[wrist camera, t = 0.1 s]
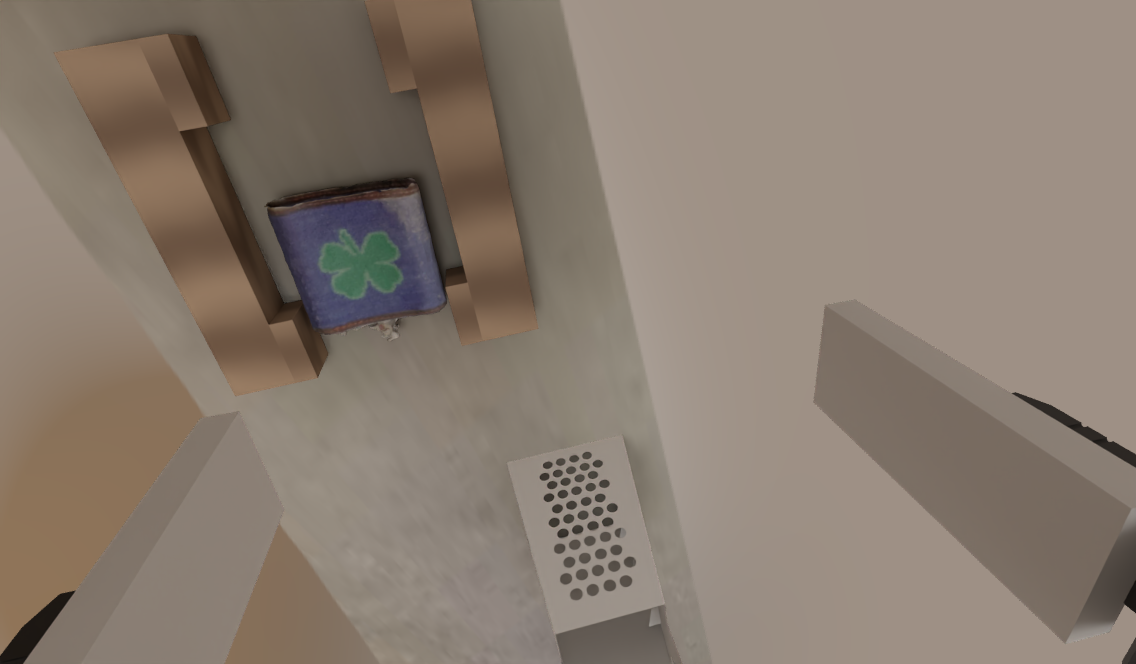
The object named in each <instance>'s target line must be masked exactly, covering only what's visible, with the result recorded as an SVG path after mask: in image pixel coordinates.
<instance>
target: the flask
mask: <svg viewBox="0 0 1136 664" xmlns="http://www.w3.org/2000/svg"><path fill="white" fill-rule="evenodd" d="M264 207H267V210H268V216H269V219H270V221H271V225H272V227H273V229H274V231H275V234H276V236H277V239H278V242H279V244H280V246H281V248H282V251H283V253H284V256H285V260H286V262H287V264H288V266H289V269H290V271H291V274H292V276H293V278H294V281H295V284H296V287H297V289H298V292H299V294H300V296H301V299H302V302H303V304H304V307H305V310H306V312H307V314H308V316H309V319H310V323H311V325H312V328H313V330H314V331H315V332H318V333H320V334H325V335H331V334H340V335H342V336H346V335H347V330H351V329H354V328H356V329H355V331H356V330H359V329H361V328H363V327H365V326H367V325H368V326H369V328H371V329H374V330H379V331H381V332H382V333H383V336H382V337H384V338H388V337H390V338H389V339H387V341H392V340H393V339H396V338H399V336H400V334H399V333H398V332H397V331H398V329H397V328H398V327H399V325H398V324H397V325H395V324H396V323H395V322H396V321H397V320H398V318H405V317H409V316H418V315H428V314H433V313H437V312H439V311H440V310H441V309H443V308H444V307H445V305H446V304H447V300H446V295H445V292H444V288H443V284H442V280H441V276H440V272H439V268H438V264H437V261H436V257H435V253H434V249H433V245H432V241H431V236H430V231H429V227H428V224H427V221H426V215H425V212H424V208H423V203H422V199H421V194H420V190H419V187H418V185H417V183H416V182H415V179H412V178H408V179H407V178H406V179H404V180H398V179H390V180H387V181H382V182H379V181H378V182H371V183H366V184H360V185H353V186H351V187H348V188H345V187H340V188H330V189H324V190H321V191H320V190H319V191H315V192H310V193H304V194H299V195H293V196H288V197H283V198H281V199H279V200H273V201H271V202H268V203H267V204H266V206H264Z"/></svg>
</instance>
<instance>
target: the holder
mask: <svg viewBox="0 0 1136 664" xmlns="http://www.w3.org/2000/svg"><path fill="white" fill-rule="evenodd" d="M364 2H365V5H366V9H367V12H368V16H369V19H370V23H371V27H372V30H373V34H374V37H375V41H376V44H377V48H378V51H379V55H380V58H381V62H382V65H383V69H384V72H385V76H386V80H387V83H388V87H389V90H390V93H394V92H400V91H405V90H411V89H416V88H417V91H418V95H419V98H420V102H421V106H422V110H423V114H424V117H425V121H426V125H427V129H428V133H429V137H430V140H431V144H432V148H433V152H434V156H435V160H436V163H437V167H438V171H439V175H440V179H441V183H442V186H443V190H444V194H445V198H446V202H447V206H448V209H449V213H450V217H451V221H452V225H453V228H454V232H455V236H456V240H457V244H458V248H459V251H460V255H461V259H462V263H463V266H461V267H457V268H452V269H447V270H446V284H445V288H446V292H447V295H448V299H449V302H450V306H451V309H452V313H453V316H454V320H455V323H456V327H457V330H458V334H459V337H460V341H461V345H462V346H463V345H468V344H472V343H477V342H481V341H485V340H490V339H494V338H499V337H503V336H508V335H512V334H517V333H521V332H526V331H530V330H535V329H538V324H537V319H536V314H535V310H534V305H533V300H532V295H531V290H530V285H529V280H528V275H527V271H526V266H525V261H524V256H523V251H522V246H521V241H520V236H519V231H518V227H517V222H516V217H515V212H514V207H513V202H512V197H511V192H510V188H509V183H508V178H507V173H506V168H505V163H504V158H503V153H502V149H501V144H500V139H499V134H498V129H497V124H496V119H495V114H494V110H493V105H492V100H491V95H490V90H489V85H488V80H487V75H486V71H485V66H484V61H483V56H482V51H481V46H480V41H479V36H478V32H477V27H476V22H475V17H474V12H473V7H472V2H471V0H368V1H364ZM54 54H55V56H56V58H57V60H58V62H59V64H60V66H61V68H62V70H63V71H64V73H65V75H66V77H67V79H68V81H69V83H70V85H71V87H72V88H73V90H74V92H75V94H76V96H77V98H78V100H79V102H80V104H81V105H82V107H83V109H84V111H85V113H86V115H87V117H88V119H89V121H90V122H91V124H92V126H93V128H94V130H95V132H96V134H97V136H98V138H99V139H100V141H101V143H102V145H103V147H104V149H105V151H106V153H107V155H108V156H109V158H110V160H111V162H112V164H113V166H114V168H115V170H116V172H117V173H118V175H119V177H120V179H121V181H122V183H123V185H124V187H125V189H126V190H127V192H128V194H129V196H130V198H131V200H132V202H133V204H134V206H135V207H136V209H137V211H138V213H139V215H140V217H141V219H142V221H143V223H144V224H145V226H146V228H147V230H148V232H149V234H150V236H151V238H152V240H153V241H154V243H155V245H156V247H157V249H158V251H159V253H160V255H161V257H162V258H163V260H164V262H165V264H166V266H167V268H168V270H169V272H170V274H171V275H172V277H173V279H174V281H175V283H176V285H177V287H178V289H179V291H180V292H181V294H182V296H183V298H184V300H185V302H186V304H187V306H188V308H189V309H190V311H191V313H192V315H193V317H194V319H195V321H196V323H197V325H198V326H199V328H200V330H201V332H202V334H203V336H204V338H205V340H206V342H207V343H208V345H209V347H210V349H211V351H212V353H213V355H214V357H215V359H216V360H217V362H218V364H219V366H220V368H221V370H222V372H223V374H224V376H225V377H226V379H227V381H228V383H229V385H230V387H231V389H232V391H233V393H234V394H235V396H239V395H243V394H248V393H252V392H257V391H261V390H266V389H270V388H275V387H279V386H284V385H288V384H293V383H297V382H302V381H306V380H311V379H315V378H318V376H319V374H320V371H321V369H322V367H323V365H324V362H325V360H326V358H327V356H328V352H327V350H326V347H325V345H324V342H323V340H322V338H321V335H320V333H318V332H315V331H314V330H313V328H312V325H311V323H310V319H309V316H308V314H307V312H306V310H305V307H304V304H303V302H302V300H300V301H295V302H290V303H285V304H284V303H283V301H282V298H281V296H280V294H279V292H278V289H277V287H276V285H275V282H274V280H273V278H272V276H271V273H270V271H269V269H268V267H267V264H266V262H265V260H264V257H263V255H262V253H261V251H260V248H259V246H258V244H257V241H256V239H255V237H254V235H253V232H252V230H251V228H250V225H249V223H248V221H247V219H246V216H245V214H244V212H243V210H242V207H241V205H240V203H239V200H238V198H237V196H236V194H235V191H234V189H233V187H232V184H231V182H230V180H229V178H228V175H227V173H226V171H225V168H224V166H223V164H222V162H221V159H220V157H219V155H218V152H217V150H216V148H215V146H214V143H213V141H212V139H211V137H210V134H209V132H208V130H207V127H206V126H210V125H214V124H218V123H222V122H225V121H229V120H231V119H230V117H229V114H228V112H227V110H226V107H225V105H224V102H223V100H222V98H221V95H220V93H219V90H218V88H217V85H216V83H215V81H214V78H213V76H212V73H211V71H210V69H209V66H208V64H207V61H206V59H205V57H204V54H203V52H202V49H201V47H200V45H199V42H198V40H197V37H196V36H186V35H175V34H163V35H157V36H151V37H144V38H138V39H132V40H126V41H120V42H114V43H108V44H102V45H96V46H90V47H84V48H78V49H72V50H66V51H60V52H54Z"/></svg>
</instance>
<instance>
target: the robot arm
mask: <svg viewBox="0 0 1136 664" xmlns="http://www.w3.org/2000/svg"><path fill="white" fill-rule="evenodd" d="M814 403H815V404H816V405H817V406H818V407H819V408H820V409H821V410H822V411H823V412H824V413H825V414H826V415H827V416H828V417H829V418H830V419H831V420H832V421H834V423H836V424H837V425H838V426H839V427H840V428H841V429H842V430H843V431H844V432H845V433H846V434H847V435H848V436H849V437H850V438H851V439H852V440H853V441H855V443H856V444H857V445H858V446H860V447H861V448H862V449H863V450H864V451H865V452H866V453H867V454H868V455H869V456H870V457H871V458H872V459H873V460H874V461H875V462H876V463H877V464H878V465H879V466H880V467H881V468H882V469H883V470H885V471H886V472H887V473H888V474H889V475H890V476H891V477H892V478H893V479H894V480H895V481H896V482H897V483H898V484H899V485H900V486H901V487H902V488H903V489H904V490H905V491H907V493H908V494H910V495H911V496H912V497H913V498H914V499H915V500H916V501H917V502H918V503H919V504H920V505H921V506H922V507H923V508H924V509H925V510H926V511H927V512H928V513H929V514H930V515H932V516H933V517H934V518H935V519H936V520H937V521H938V522H939V523H940V524H941V525H942V526H943V527H944V528H945V529H946V530H947V531H948V532H949V533H950V534H951V535H952V536H953V537H954V538H956V539H957V541H959V542H960V543H961V544H962V545H963V546H964V547H965V548H966V549H967V550H968V551H969V552H970V553H971V554H972V555H973V556H974V557H975V558H976V559H977V560H978V561H979V562H980V563H981V564H982V565H984V566H985V567H986V568H987V569H988V570H989V571H990V572H991V573H992V574H993V575H994V576H995V577H996V578H997V579H998V580H999V581H1000V582H1001V583H1002V584H1003V585H1004V586H1005V587H1007V588H1008V589H1009V590H1010V591H1011V592H1012V593H1013V594H1014V595H1015V596H1016V597H1017V598H1018V599H1019V600H1020V601H1021V602H1022V603H1023V604H1024V605H1025V606H1026V607H1027V608H1028V609H1029V610H1030V611H1031V612H1033V613H1034V614H1035V615H1036V616H1037V617H1038V618H1039V619H1040V620H1041V621H1042V622H1043V623H1044V624H1045V625H1046V626H1047V627H1048V628H1049V629H1050V630H1051V631H1052V632H1053V633H1055V635H1057V636H1058V637H1059V638H1060V639H1061V640H1062V641H1063V642H1064V643H1065V644H1067V643H1071V642H1075V641H1078V640H1082V639H1086V638H1090V637H1093V636H1097V635H1101V634H1105V633H1108V632H1110V631H1111V629H1112V627H1113V625H1114V623H1115V621H1116V620H1117V618H1118V616H1119V614H1120V612H1121V610H1122V608H1123V607H1124V605H1126V606H1127V607H1129V608H1130V609H1131V610H1132V611H1134V612H1135V613H1136V454H1134V453H1133V452H1131V451H1129V450H1127V449H1125V448H1124V447H1122V446H1120V445H1119V444H1117V443H1115V442H1114V441H1113V442H1108V441H1107V437H1105V436H1103V435H1101V434H1100V433H1098V432H1096V431H1095V430H1093V429H1091V428H1089V427H1088V426H1087V427H1083V426H1082V425H1081V422H1079V421H1077V420H1076V419H1074V418H1072V417H1070V416H1069V415H1067V414H1065V413H1064V412H1062V411H1060V410H1058V409H1056V408H1055V407H1053V406H1051V405H1049V404H1046V403H1043V402H1041V401H1038V400H1035V399H1032V398H1029V397H1027V396H1024V395H1022V394H1019V393H1016V392H1015V393H1010V392H1008V391H1007V390H1005V389H1003V388H1002V387H1000V386H998V385H997V384H995V383H993V382H992V381H990V380H988V379H987V378H985V377H983V376H982V375H980V374H978V373H976V372H975V371H973V370H972V369H970V368H968V367H967V366H965V365H963V364H962V363H960V362H958V361H957V360H955V359H953V358H951V357H950V356H948V355H947V354H945V353H943V352H942V351H940V350H938V349H937V348H935V347H933V346H931V345H930V344H928V343H927V342H925V341H923V340H922V339H920V338H918V337H917V336H915V335H913V334H912V333H910V332H908V331H906V330H905V329H903V328H902V327H900V326H898V325H896V324H895V323H893V322H892V321H890V320H888V319H886V318H885V317H883V316H882V315H880V314H878V313H877V312H875V311H873V310H872V309H870V308H868V307H867V306H865V305H863V304H861V303H860V302H858V301H857V300H851V301H845V302H839V303H834V304H828V305H825V309H824V318H823V327H822V334H821V343H820V352H819V360H818V368H817V377H816V385H815V393H814ZM283 511H284V507H283V505H282V503H281V501H280V498H279V496H278V494H277V492H276V490H275V488H274V485H273V483H272V481H271V479H270V477H269V475H268V472H267V470H266V468H265V466H264V464H263V462H262V459H261V457H260V455H259V453H258V451H257V449H256V446H255V444H254V442H253V440H252V438H251V436H250V433H249V431H248V429H247V427H246V425H245V423H244V420H243V418H242V416H241V414H240V412H239V411H238V412H232V413H227V414H221V415H216V416H210V417H205V418H201V419H200V420H199V421H198V422H197V424H196V425H195V427H194V428H193V429H192V431H191V432H190V433H189V435H188V436H187V438H186V439H185V440H184V442H183V443H182V445H181V446H180V447H179V449H178V450H177V452H176V453H175V454H174V456H173V457H172V458H171V460H170V461H169V463H168V464H167V465H166V467H165V468H164V469H163V471H162V472H161V474H160V475H159V476H158V478H157V479H156V481H155V482H154V483H153V485H152V486H151V487H150V489H149V490H148V492H147V493H146V494H145V496H144V497H143V499H142V500H141V501H140V503H139V504H138V505H137V507H136V508H135V510H134V511H133V513H132V514H131V515H130V517H129V518H128V519H127V521H126V522H125V524H124V525H123V526H122V528H121V529H120V531H119V532H118V533H117V535H116V536H115V538H114V539H113V540H112V541H111V543H110V544H109V546H108V547H107V548H106V550H105V551H104V553H103V554H102V555H101V557H100V558H99V560H98V561H97V562H96V564H95V565H94V566H93V568H92V569H91V571H90V572H89V573H88V575H87V576H86V577H85V579H84V580H83V582H82V583H81V584H80V586H79V587H78V589H77V590H76V591H72V592H67V593H62V594H60V595H58V596H57V597H56V598H55V599H54V600H52V601H51V602H50V603H49V604H48V605H47V606H46V607H45V608H43V609H42V610H41V611H40V612H39V613H38V614H37V615H36V616H34V617H33V618H32V619H31V620H30V621H29V622H28V623H26V624H25V625H24V626H23V627H22V628H21V630H20V631H19V632H18V633H17V635H16V636H15V637H14V639H13V640H12V641H11V642H10V644H9V645H8V646H7V648H6V649H5V650H4V652H3V653H2V654H1V656H0V664H224V663H225V661H226V658H227V656H228V653H229V650H230V648H231V645H232V643H233V640H234V637H235V635H236V632H237V630H238V627H239V625H240V622H241V619H242V617H243V614H244V612H245V609H246V607H247V604H248V602H249V599H250V596H251V594H252V591H253V589H254V586H255V584H256V581H257V578H258V576H259V573H260V571H261V568H262V565H263V563H264V560H265V557H266V555H267V553H268V550H269V547H270V545H271V542H272V540H273V537H274V534H275V532H276V529H277V527H278V524H279V522H280V519H281V517H282V514H283ZM1122 664H1136V638H1135V640H1134V642H1133V643H1132V645H1131V647H1130V648H1129V650H1128V652H1127V654H1126V655H1125V657H1124V659H1123V661H1122Z"/></svg>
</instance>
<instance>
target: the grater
mask: <svg viewBox="0 0 1136 664" xmlns="http://www.w3.org/2000/svg"><path fill="white" fill-rule="evenodd" d="M585 452H590V453H591V454H592V457H591V458H590V459H583V457H582V454H583V453H585ZM572 455H577V456H578V457H579V460H578V461H577V462H574V463H572V462H570V460H569V458H570V456H572ZM559 458H563V459H565V460H566V463H565V464H564V465H562V466H558V465H557V464H556V461H557V459H559ZM595 460H601V461H602V462H603V465H602V466H601V467H598V468H596V467H594V466H593V462H594V461H595ZM547 461H550V462H552V463H553V466H552V467H551V468H550V469H545V468H543V464H544V463H545V462H547ZM583 463H588V464H589V465H590V468H589V469H588V470H586V471H582V470H581V469H580V465H581V464H583ZM507 465H508V469H509V473H510V477H511V480H512V484H513V488H514V491H515V495H516V499H517V501H518V502H517V503H518V506H519V510H520V514H521V516H522V521H523V525H524V527H525V528H524V529H525V532H526V536H527V540H528V542H529V547H530V551H531V554H532V558H533V561H534V565H535V568H536V572H537V575H538V579H539V582H540V586H541V590H542V593H543V597H544V600H545V604H546V607H547V611H548V614H549V618H550V621H551V625H552V628H553V632H554V636H555V639H556V643H557V646H558V650H559V653H560V657H561V661H562V664H672V661H671V657H672V660H673V663H674V664H683V663H682V661H681V658H680V655H679V653H678V650H677V647H676V645H675V642H674V639H673V637H672V634H671V631H670V628H669V626H668V623H667V617H666V608H665V602H664V598H663V594H662V590H661V586H660V582H659V578H658V574H657V570H656V566H655V562H654V558H653V554H652V550H651V547H650V543H649V539H648V535H647V531H646V527H645V523H644V519H643V515H642V511H641V507H640V503H639V499H638V495H637V491H636V487H635V483H634V479H633V475H632V471H631V467H630V463H629V460H628V456H627V452H626V448H625V444H624V440H623V436H622V435H618V436H614V437H610V438H606V439H602V440H598V441H593V442H589V443H585V444H581V445H577V446H573V447H569V448H565V449H561V450H556V451H552V452H548V453H544V454H540V455H536V456H532V457H528V458H524V459H519V460H515V461H511V462H507ZM570 466H573V467H575V468H576V472H575V473H573V474H568V473H567V472H566V469H567V468H568V467H570ZM555 470H562V471H563V475H562V476H561V477H557V478H556V477H554V476H553V472H554V471H555ZM591 471H596V472H597V473H598V477H597V478H595V479H590V478H589V477H588V473H589V472H591ZM542 473H548V474H549V475H550V478H549V479H548V480H546V481H542V480H540V475H541V474H542ZM578 474H582V475H584V476H585V479H584V481H582V482H576V481H575V480H574V479H575V476H576V475H578ZM563 478H569V479H570V480H571V483H570V484H569V485H567V486H563V485H561V480H562V479H563ZM601 480H608V481H609V482H610V485H609V486H608V487H607V488H602V487H600V486H599V482H600V481H601ZM550 481H555V482H557V487H556V488H555V489H549V488H548V487H547V484H548V483H549V482H550ZM589 483H594V484H595V485H596V489H595V490H594V491H587V490H586V489H585V487H586V485H587V484H589ZM577 486H578V487H581V489H582V492H581V493H580V494H579V495H574V494H572V493H571V490H572V488H574V487H577ZM561 490H566V491H567V492H568V496H567V497H566V498H562V499H561V498H559V497H558V496H557V495H558V492H559V491H561ZM548 493H551V494H553V495H554V499H553V501H551V502H546V501H545V500H544V496H545V495H546V494H548ZM597 494H604V495H605V496H606V499H605V500H604V501H603V502H596V500H595V496H596V495H597ZM584 497H589V498H591V500H592V503H591V504H590V505H588V506H583V505H582V504H581V500H582V498H584ZM569 501H575V502H576V503H577V507H576V508H575V509H573V510H569V509H567V507H566V504H567V503H568V502H569ZM610 503H615V504H616V505H617V506H618V509H617V511H615V512H609V511H608V510H607V506H608V504H610ZM556 504H560V505H562V507H563V510H562V511H561V512H560V513H554V512H553V511H552V507H553V506H554V505H556ZM595 507H601V508H603V510H604V512H603V514H602V515H600V516H595V515H594V514H593V513H592V510H593V509H594V508H595ZM584 510H585V511H587V512H588V513H589V516H588V518H587V519H585V520H581V519H579V518H578V517H577V516H578V513H579V512H580V511H584ZM567 514H571V515H573V516H574V521H573V522H572V523H570V524H567V523H565V522H564V521H563V517H564V516H565V515H567ZM606 517H610V518H612V519H613V524H612V525H608V526H603V524H602V520H603V519H604V518H606ZM552 518H558V519H559V520H560V524H559V525H558V526H557V527H551V526H549V521H550V519H552ZM591 521H596V522H597V523H598V524H599V527H598V528H596V529H592V530H589V529H588V528H587V525H588V523H589V522H591ZM575 525H581V526H582V527H583V532H581V533H577V534H573V532H572V528H573V527H574V526H575ZM560 529H567V530H568V532H569V535H568V536H565V537H561V538H559V537H558V536H557V532H558V531H559V530H560Z"/></svg>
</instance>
